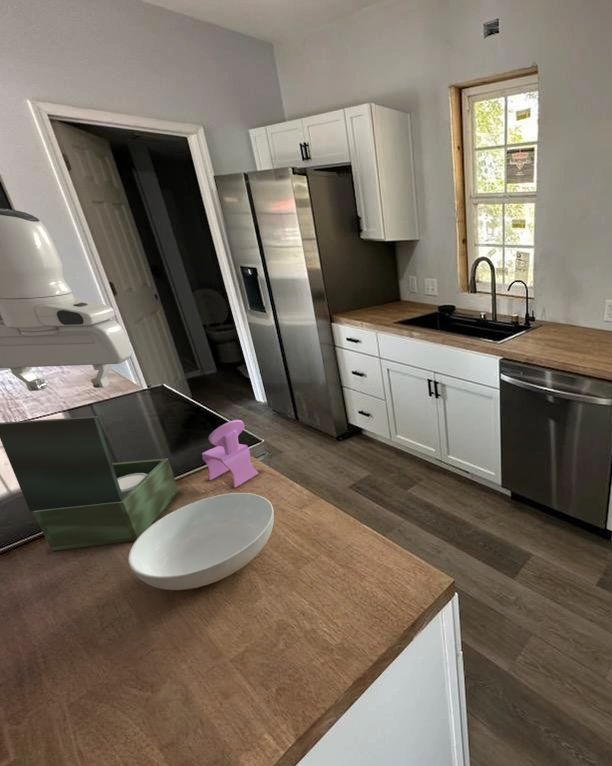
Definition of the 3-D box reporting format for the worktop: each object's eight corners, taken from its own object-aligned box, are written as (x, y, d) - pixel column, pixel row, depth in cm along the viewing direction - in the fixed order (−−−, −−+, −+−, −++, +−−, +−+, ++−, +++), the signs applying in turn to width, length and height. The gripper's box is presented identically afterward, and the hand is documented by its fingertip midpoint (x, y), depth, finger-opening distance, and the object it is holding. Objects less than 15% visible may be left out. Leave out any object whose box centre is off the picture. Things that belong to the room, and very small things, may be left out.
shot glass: (158, 495, 90) (148, 468, 87) (159, 512, 85) (149, 483, 83) (116, 508, 86) (104, 480, 83) (114, 526, 81) (102, 496, 78)
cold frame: (107, 499, 90) (93, 464, 87) (179, 491, 93) (168, 458, 90) (51, 551, 76) (32, 512, 73) (138, 540, 79) (123, 502, 76)
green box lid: (-2, 422, 68) (-6, 424, 67) (97, 416, 71) (93, 417, 70) (33, 508, 73) (29, 511, 72) (123, 499, 76) (121, 501, 75)
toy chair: (235, 464, 104) (222, 410, 98) (262, 471, 101) (249, 416, 96) (203, 482, 96) (186, 425, 91) (230, 490, 94) (215, 432, 88)
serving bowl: (140, 552, 76) (128, 522, 73) (267, 507, 89) (260, 480, 86) (140, 633, 61) (125, 599, 59) (292, 565, 74) (285, 535, 71)
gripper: (-58, 317, 64) (-19, 398, 69) (100, 314, 68) (125, 391, 73) (-20, 309, 69) (13, 385, 74) (123, 307, 74) (146, 379, 79)
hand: (70, 388), depth 74 cm, fingers open, 8 cm apart
